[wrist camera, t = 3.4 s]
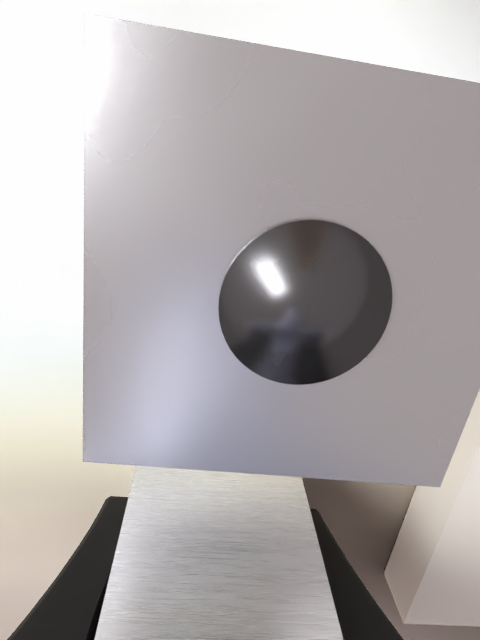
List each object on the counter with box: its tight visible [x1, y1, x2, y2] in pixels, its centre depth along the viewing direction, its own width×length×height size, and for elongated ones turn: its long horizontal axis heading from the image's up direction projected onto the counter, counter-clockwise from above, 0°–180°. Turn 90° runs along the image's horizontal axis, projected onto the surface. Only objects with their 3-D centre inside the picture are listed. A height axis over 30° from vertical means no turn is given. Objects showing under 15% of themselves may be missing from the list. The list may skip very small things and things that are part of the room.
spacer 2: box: [94, 466, 343, 640], centre depth 10 cm, size 4×4×6 cm
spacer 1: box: [83, 13, 480, 487], centre depth 7 cm, size 4×4×6 cm
